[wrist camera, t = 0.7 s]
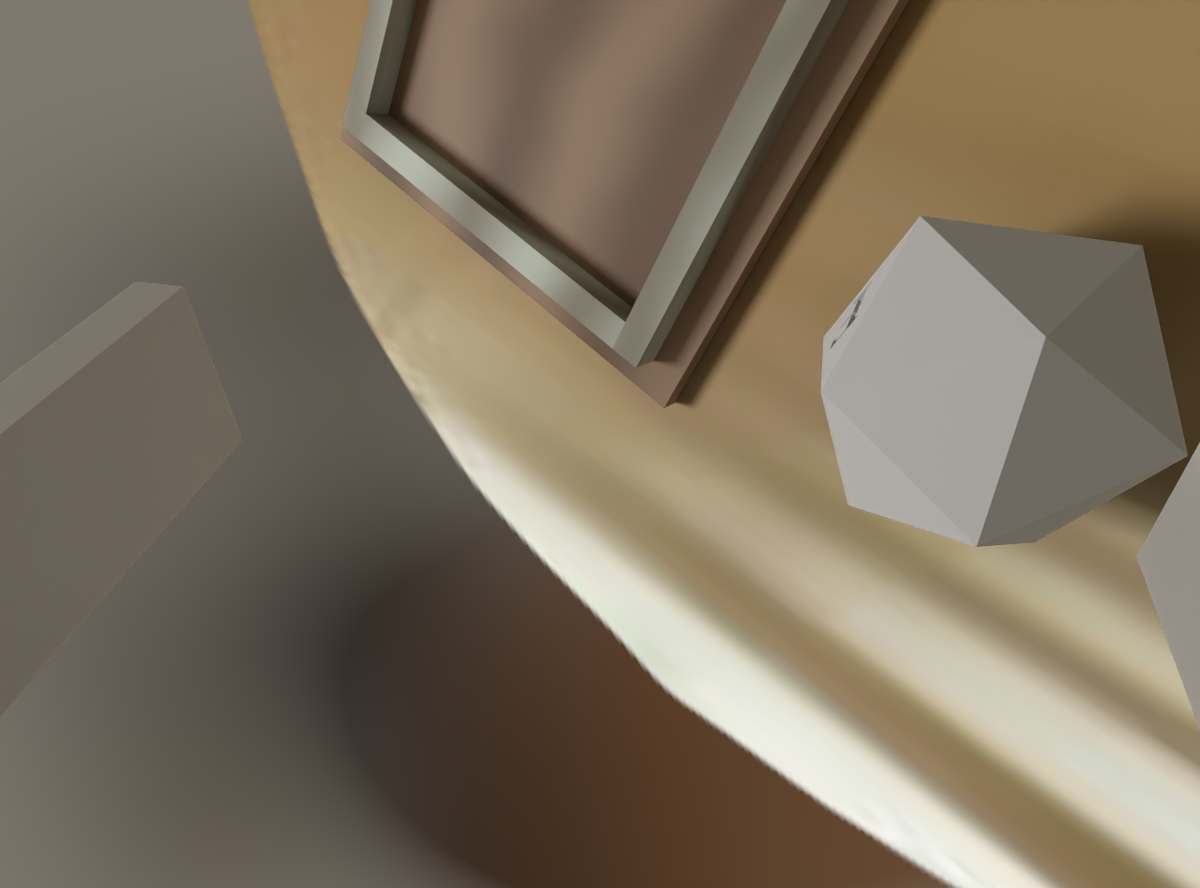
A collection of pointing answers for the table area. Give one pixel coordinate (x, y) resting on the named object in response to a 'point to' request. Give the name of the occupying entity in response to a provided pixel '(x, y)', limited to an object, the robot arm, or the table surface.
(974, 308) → the die
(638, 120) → the dice tray
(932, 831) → the table surface
